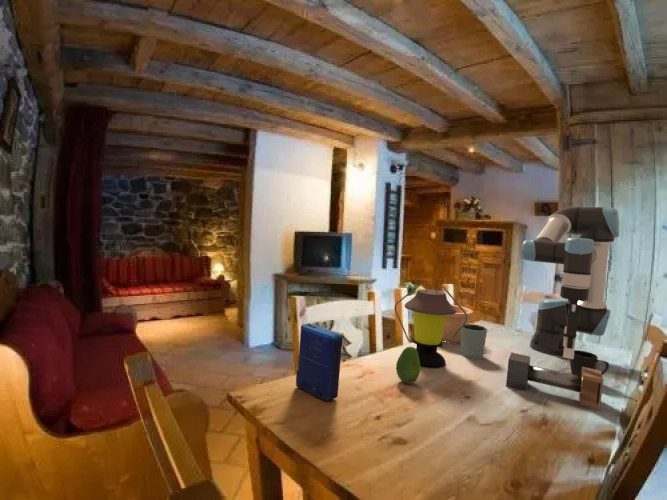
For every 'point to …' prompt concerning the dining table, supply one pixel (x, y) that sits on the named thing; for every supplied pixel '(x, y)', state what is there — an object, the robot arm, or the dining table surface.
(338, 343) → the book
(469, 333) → the grey green textured cup
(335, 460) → the dining table surface
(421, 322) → the lantern
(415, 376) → the fruit
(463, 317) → the pottery
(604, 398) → the dining table surface
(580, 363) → the mug
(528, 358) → the sleeve
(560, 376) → the tube
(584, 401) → the socket
